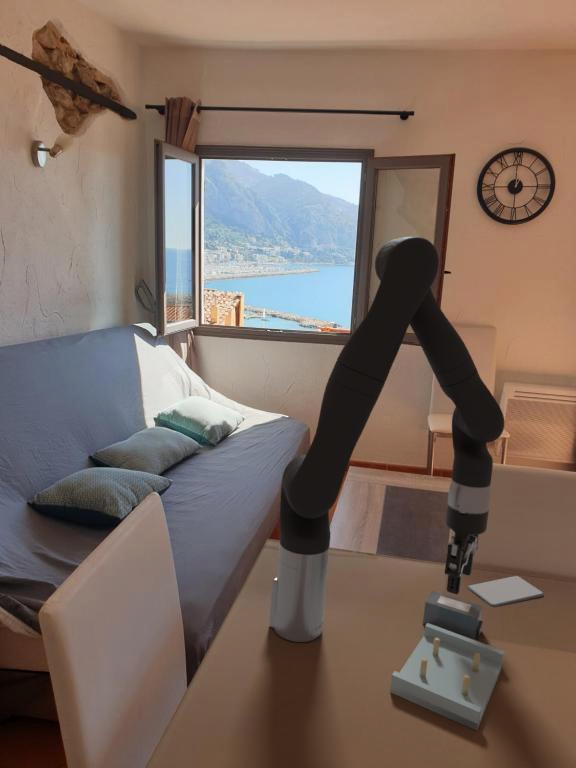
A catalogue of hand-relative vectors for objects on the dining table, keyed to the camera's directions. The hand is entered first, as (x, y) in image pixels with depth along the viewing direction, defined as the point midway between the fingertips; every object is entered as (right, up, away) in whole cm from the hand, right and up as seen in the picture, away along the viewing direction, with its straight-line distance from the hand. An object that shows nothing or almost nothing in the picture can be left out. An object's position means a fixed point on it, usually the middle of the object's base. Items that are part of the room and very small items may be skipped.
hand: (459, 582), depth 114 cm
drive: (-1, -9, +2) cm, 10 cm away
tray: (-6, -12, -14) cm, 19 cm away
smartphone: (+15, -8, +17) cm, 24 cm away
